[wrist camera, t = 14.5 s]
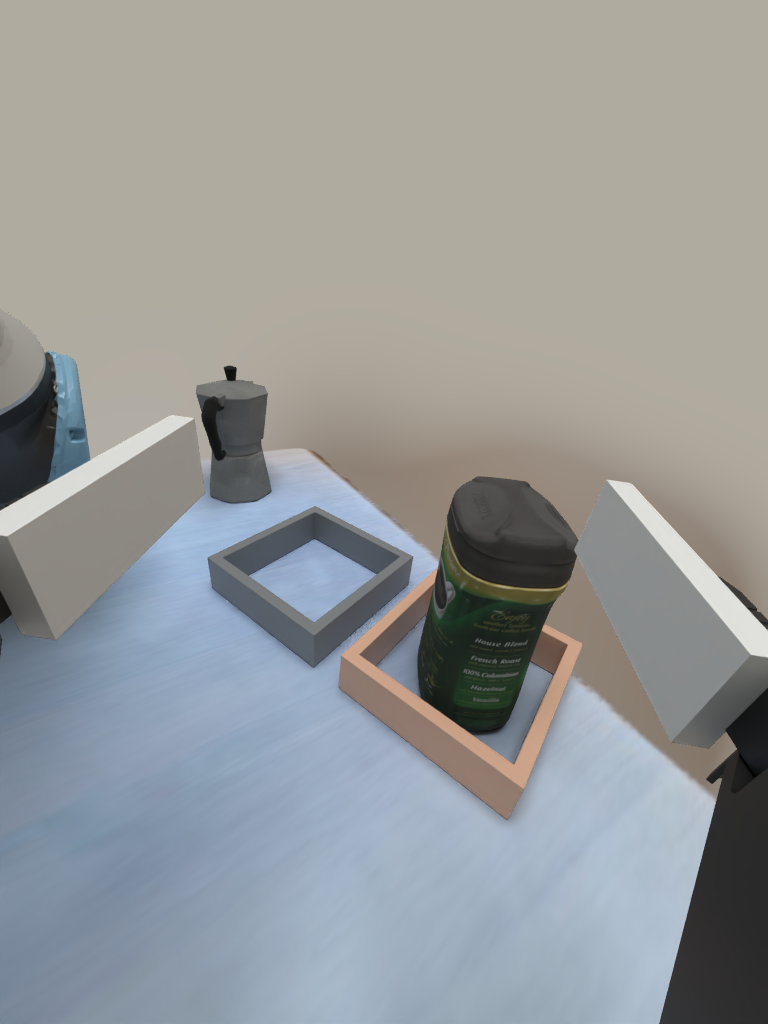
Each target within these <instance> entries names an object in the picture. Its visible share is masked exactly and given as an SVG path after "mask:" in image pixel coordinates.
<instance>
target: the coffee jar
mask: <svg viewBox="0 0 768 1024" xmlns="http://www.w3.org/2000/svg"><path fill="white" fill-rule="evenodd" d="M577 543H578V539H577V537H576V535H575V534H574V533H573V531H572V530H571V528H570V527H569V525H568V524H567V522H566V521H565V520H564V519H563V517H562V516H561V515H560V514H559V512H558V511H557V510H556V509H555V507H554V506H553V505H552V504H551V503H550V502H549V501H548V500H547V499H545V498H544V497H543V496H542V495H541V494H539V493H538V492H537V491H535V490H534V489H533V488H531V487H530V485H529V484H528V483H527V482H525V481H518V480H510V479H501V478H493V477H476V478H474V479H473V480H472V481H469V482H467V483H466V484H464V485H462V486H461V487H460V488H459V489H458V490H457V491H456V492H455V494H454V497H453V499H452V503H451V505H450V509H449V513H448V515H447V521H446V527H445V532H444V539H443V545H442V551H441V556H440V561H439V565H438V570H437V574H436V578H435V582H434V587H433V591H432V595H431V599H430V604H429V608H428V612H427V616H426V620H425V624H424V628H423V632H422V636H421V640H420V645H419V652H418V674H419V684H420V689H421V694H422V698H423V700H424V701H425V702H426V703H428V704H429V705H431V706H432V707H433V708H435V709H436V710H438V711H439V712H440V713H442V714H443V715H445V716H446V717H447V718H449V719H450V720H452V721H453V722H455V723H456V724H457V725H459V726H460V727H462V728H463V729H465V730H491V729H495V728H498V727H501V726H502V725H504V724H505V723H506V722H507V721H508V719H509V718H510V715H511V713H512V711H513V708H514V706H515V703H516V701H517V698H518V695H519V692H520V690H521V687H522V684H523V681H524V678H525V675H526V671H527V669H528V666H529V663H530V660H531V657H532V655H533V652H534V650H535V647H536V644H537V642H538V639H539V636H540V634H541V631H542V628H543V626H544V623H545V621H546V618H547V616H548V614H549V611H550V609H551V607H552V605H553V604H554V602H555V601H556V599H557V598H558V597H559V596H560V595H561V593H563V591H564V590H565V588H566V587H567V585H568V583H569V581H570V577H571V574H572V571H573V568H574V564H575V560H576V557H577V555H576V553H575V551H574V549H575V547H576V545H577Z"/></svg>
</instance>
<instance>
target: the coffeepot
mask: <svg viewBox="0 0 768 1024" xmlns="http://www.w3.org/2000/svg"><path fill="white" fill-rule="evenodd" d="M236 369H237V368H236V367H233V366H226V367H224V370H225V374H226V377H227V380H222V381H216V382H211V383H207V384H202V385H197V388H196V394H197V397H198V401H199V404H200V408H201V411H202V422H203V425H204V427H205V430H206V432H207V436H208V439H209V443H210V446H211V448H212V461H211V479H210V495H211V496H213V497H214V498H216V499H218V500H220V501H224V502H229V503H246V502H252V501H256V500H259V499H261V498H263V497H265V496H266V495H267V494H268V493H269V492H270V491H272V490H271V486H270V481H269V477H268V473H267V468H266V464H265V459H264V455H263V450H262V447H261V439H263V434H264V425H265V415H266V405H267V394H268V393H267V391H266V389H265V387H264V386H260V385H256V384H253V382H252V381H244V380H236Z"/></svg>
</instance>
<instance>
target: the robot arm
mask: <svg viewBox="0 0 768 1024" xmlns="http://www.w3.org/2000/svg"><path fill="white" fill-rule="evenodd" d="M204 494H205V489H204V482H203V475H202V468H201V461H200V454H199V446H198V439H197V432H196V425H195V419H194V418H188V417H181V416H175V415H170V416H169V417H167V418H165V419H163V420H161V421H160V422H158V423H156V424H154V425H153V426H151V427H149V428H147V429H145V430H144V431H142V432H140V433H138V434H136V435H135V436H133V437H131V438H129V439H127V440H126V441H124V442H122V443H120V444H119V445H117V446H115V447H113V448H112V449H110V450H108V451H106V452H105V453H102V454H101V455H99V456H97V457H95V458H93V459H92V460H90V454H89V446H88V439H87V432H86V425H85V418H84V411H83V405H82V398H81V390H80V383H79V377H78V370H77V364H76V363H75V361H74V359H72V358H71V357H69V356H67V355H61V354H57V353H56V352H46V353H44V351H43V348H42V346H41V344H40V342H39V341H38V340H37V338H36V336H35V334H34V333H33V332H32V331H31V330H30V329H29V328H28V327H27V326H26V325H25V324H23V323H22V322H21V321H20V320H18V319H16V318H15V317H13V316H12V315H10V314H8V313H6V312H4V311H2V310H0V624H1V623H2V622H3V621H4V620H5V619H7V618H8V617H9V616H10V615H12V617H13V619H14V621H15V623H16V625H17V627H18V629H19V631H20V632H21V634H22V635H27V636H33V637H39V638H45V639H51V640H57V639H58V638H59V637H60V636H61V635H62V634H63V633H64V632H65V631H66V630H67V629H68V628H69V627H70V626H71V625H72V624H73V623H74V622H75V621H76V620H77V619H78V618H79V617H80V616H81V615H82V614H83V613H84V612H85V611H86V610H87V609H88V608H89V607H90V606H91V605H92V604H93V603H94V602H95V601H96V600H97V599H98V598H99V597H100V596H101V595H102V594H103V593H104V592H105V591H106V590H107V589H108V588H109V587H110V586H111V585H112V584H114V583H115V582H116V581H117V580H118V579H119V578H120V577H121V576H122V575H123V574H124V573H125V572H126V571H127V570H128V569H129V568H130V567H131V566H132V565H133V564H134V563H135V562H136V561H137V560H138V559H139V558H140V557H141V556H142V555H143V554H144V553H145V552H146V551H147V550H148V549H149V548H150V547H151V546H152V545H153V544H154V543H155V542H156V541H157V540H158V539H159V538H160V537H161V536H162V535H163V534H164V533H165V532H166V531H167V530H168V529H169V528H170V527H171V526H172V525H173V524H174V523H175V522H176V521H177V520H178V519H179V518H180V517H181V516H182V515H183V514H184V513H185V512H186V511H187V510H189V509H190V508H191V507H192V506H193V505H194V504H195V503H196V502H197V501H198V500H199V499H200V498H201V497H202V496H203V495H204ZM574 551H575V553H576V555H577V557H578V559H579V561H580V563H581V565H582V567H583V569H584V571H585V573H586V575H587V577H588V579H589V581H590V582H591V585H592V587H593V589H594V590H595V593H596V594H597V597H598V598H599V600H600V602H601V604H602V606H603V608H604V610H605V612H606V614H607V616H608V618H609V620H610V622H611V624H612V626H613V628H614V630H615V632H616V634H617V636H618V638H619V640H620V642H621V644H622V646H623V648H624V650H625V652H626V654H627V656H628V658H629V660H630V662H631V664H632V666H633V668H634V670H635V672H636V674H637V676H638V678H639V679H640V681H641V684H642V686H643V688H644V690H645V692H646V694H647V696H648V698H649V700H650V702H651V703H652V706H653V708H654V709H655V712H656V714H657V716H658V717H659V720H660V721H661V723H662V725H663V727H664V729H665V731H666V733H667V735H668V737H669V739H670V741H671V742H672V743H678V744H684V745H690V746H697V747H702V748H710V747H711V746H712V745H713V744H714V743H715V742H716V741H717V740H718V739H719V738H720V737H721V736H722V735H723V734H724V733H725V732H727V733H728V735H729V737H730V738H731V740H732V741H733V743H734V744H735V746H736V748H737V750H736V751H735V752H733V753H732V754H731V755H730V756H729V757H728V758H727V759H726V760H725V761H724V762H723V763H721V764H720V765H719V766H718V767H717V768H716V769H715V770H714V771H713V772H712V773H711V774H710V775H709V776H708V778H707V779H706V780H708V781H709V782H710V783H712V784H713V783H714V782H715V781H716V780H717V779H718V778H722V781H721V785H720V789H719V793H718V797H717V801H716V805H715V808H714V812H713V816H712V820H711V824H710V828H709V832H708V836H707V840H706V844H705V847H704V851H703V855H702V859H701V863H700V867H699V871H698V875H697V879H696V883H695V886H694V890H693V894H692V898H691V902H690V906H689V910H688V914H687V918H686V922H685V925H684V929H683V933H682V937H681V941H680V945H679V949H678V953H677V957H676V960H675V964H674V968H673V972H672V976H671V980H670V984H669V988H668V992H667V996H666V999H665V1003H664V1007H663V1011H662V1015H661V1019H660V1023H659V1024H768V620H767V619H766V618H765V617H764V616H763V615H762V614H761V613H760V612H757V608H756V607H755V606H754V605H753V604H752V603H751V602H750V601H749V600H748V599H747V598H746V597H745V596H744V595H743V594H742V592H740V591H739V590H737V589H736V588H735V587H733V586H732V585H730V584H729V583H728V582H726V581H725V580H723V579H722V578H720V577H718V576H716V575H715V573H714V572H713V571H712V570H711V569H710V568H709V567H708V566H707V565H706V564H705V563H704V561H703V560H702V559H701V558H700V557H699V556H698V555H697V554H696V553H695V552H694V551H693V550H692V548H690V546H689V545H688V544H687V543H686V542H685V541H684V540H683V539H682V538H681V537H680V536H679V534H678V533H677V532H676V531H675V530H674V529H673V528H672V527H671V526H670V525H669V524H668V523H667V522H666V521H665V519H664V518H663V517H662V516H661V515H660V514H659V513H658V512H657V511H656V510H655V509H654V507H653V506H652V505H651V504H650V503H649V502H648V501H647V500H646V499H645V498H644V497H643V496H642V495H641V494H640V492H639V491H638V490H637V489H636V488H635V487H634V486H633V485H632V484H631V483H625V482H619V481H612V480H606V482H605V484H604V486H603V488H602V490H601V493H600V495H599V497H598V499H597V501H596V503H595V506H594V508H593V510H592V512H591V514H590V516H589V519H588V521H587V523H586V525H585V527H584V529H583V532H582V534H581V536H580V538H579V540H578V543H577V545H576V547H575V549H574ZM1 645H2V638H1V635H0V654H1Z"/></svg>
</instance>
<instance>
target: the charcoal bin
mask: <svg viewBox="0 0 768 1024" xmlns="http://www.w3.org/2000/svg"><path fill="white" fill-rule="evenodd" d="M314 538H315V539H317V540H319V541H320V542H322V543H324V544H326V545H327V546H329V547H331V548H333V549H334V550H336V551H338V552H340V553H341V554H343V555H345V556H347V557H348V558H350V559H352V560H354V561H355V562H357V563H359V564H361V565H362V566H364V567H366V568H368V569H370V570H371V571H373V572H375V573H377V575H376V576H375V577H373V578H372V579H371V580H369V581H368V582H367V583H365V584H364V585H363V586H361V587H360V588H359V589H358V590H356V591H355V592H354V593H352V594H351V595H350V596H348V597H347V598H346V599H345V600H343V601H342V602H341V603H339V604H338V605H337V606H335V607H334V608H333V609H331V610H330V611H329V612H328V613H326V614H325V615H324V616H322V617H321V618H320V619H318V620H317V621H316V622H312V621H311V620H310V619H308V618H307V617H305V616H304V615H303V614H301V613H300V612H298V611H297V610H296V609H294V608H293V607H291V606H290V605H289V604H287V603H286V602H284V601H283V600H282V599H280V598H279V597H277V596H276V595H274V594H273V593H272V592H270V591H269V590H267V589H266V588H265V587H263V586H262V585H260V584H259V583H258V582H256V581H255V580H253V579H252V578H251V577H249V576H248V575H250V574H252V573H253V572H255V571H257V570H259V569H261V568H262V567H264V566H266V565H268V564H270V563H271V562H273V561H275V560H277V559H279V558H280V557H282V556H284V555H286V554H288V553H289V552H291V551H293V550H295V549H297V548H298V547H300V546H302V545H304V544H306V543H307V542H309V541H311V540H313V539H314ZM412 560H413V556H411V555H409V554H407V553H405V552H403V551H401V550H399V549H397V548H396V547H394V546H392V545H390V544H388V543H386V542H384V541H382V540H380V539H378V538H376V537H374V536H372V535H370V534H368V533H366V532H365V531H363V530H361V529H359V528H357V527H355V526H353V525H351V524H349V523H347V522H345V521H343V520H341V519H339V518H337V517H335V516H333V515H332V514H330V513H328V512H326V511H324V510H322V509H320V508H318V507H316V506H314V507H312V508H310V509H308V510H306V511H304V512H302V513H300V514H298V515H296V516H294V517H291V518H289V519H287V520H285V521H283V522H281V523H279V524H277V525H275V526H273V527H271V528H268V529H266V530H264V531H262V532H260V533H258V534H256V535H254V536H252V537H250V538H247V539H245V540H243V541H241V542H239V543H237V544H235V545H233V546H231V547H229V548H227V549H224V550H222V551H220V552H218V553H216V554H214V555H212V556H210V557H208V564H209V570H210V577H211V583H212V588H213V589H214V590H216V591H217V592H218V593H219V594H221V595H222V596H223V597H224V598H226V599H227V600H228V601H230V602H231V603H232V604H233V605H235V606H236V607H237V608H238V609H240V610H241V611H242V612H244V613H245V614H246V615H247V616H249V617H250V618H251V619H252V620H254V621H255V622H256V623H257V624H259V625H260V626H261V627H263V628H264V629H265V630H266V631H268V632H269V633H270V634H271V635H273V636H274V637H275V638H277V639H278V640H279V641H280V642H282V643H283V644H284V645H285V646H287V647H288V648H289V649H291V650H292V651H293V652H294V653H296V654H297V655H298V656H299V657H301V658H302V659H303V660H305V661H306V662H307V663H308V664H310V665H311V666H312V667H313V668H314V667H315V666H316V665H317V664H318V663H319V662H320V661H322V660H323V659H324V658H325V657H326V656H327V655H328V654H330V653H331V652H332V651H333V650H334V649H335V648H336V647H338V646H339V645H340V644H341V643H342V642H343V641H344V640H345V639H347V638H348V637H349V636H350V635H351V634H352V633H353V632H355V631H356V630H357V629H358V628H359V627H360V626H361V625H363V624H364V623H365V622H366V621H367V620H368V619H369V618H371V617H372V616H373V615H374V614H375V613H376V612H377V611H379V610H380V609H381V608H382V607H383V606H384V605H385V604H387V603H388V602H389V601H390V600H391V599H392V598H393V597H395V596H396V595H397V594H398V593H399V592H400V591H401V590H403V589H404V588H405V587H406V586H407V585H408V583H409V577H410V572H411V566H412Z"/></svg>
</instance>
